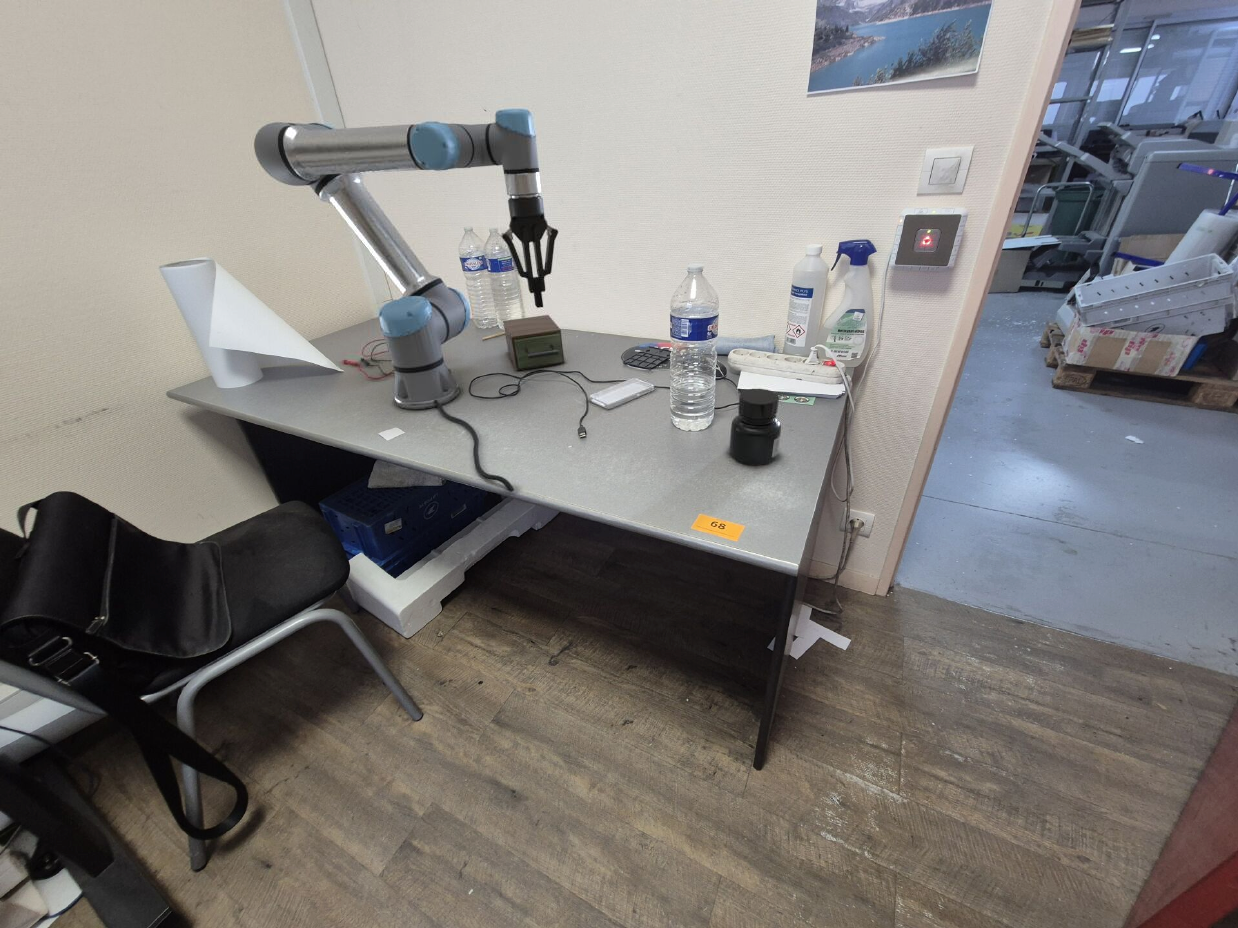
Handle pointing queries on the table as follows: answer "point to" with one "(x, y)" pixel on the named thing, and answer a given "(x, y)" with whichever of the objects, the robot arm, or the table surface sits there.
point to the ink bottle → (756, 427)
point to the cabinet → (529, 333)
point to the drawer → (538, 350)
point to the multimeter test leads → (371, 359)
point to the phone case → (621, 393)
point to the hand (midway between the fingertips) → (539, 306)
